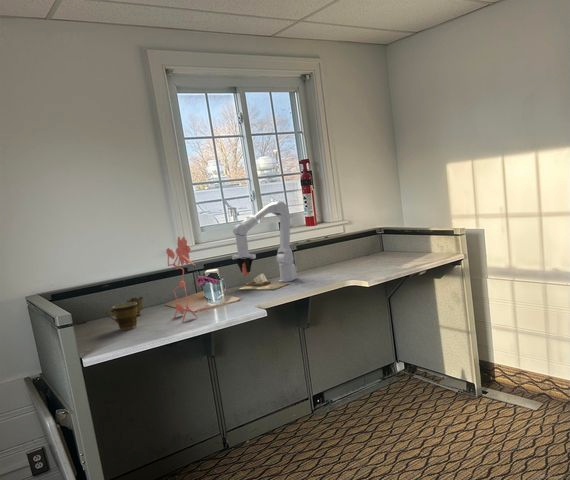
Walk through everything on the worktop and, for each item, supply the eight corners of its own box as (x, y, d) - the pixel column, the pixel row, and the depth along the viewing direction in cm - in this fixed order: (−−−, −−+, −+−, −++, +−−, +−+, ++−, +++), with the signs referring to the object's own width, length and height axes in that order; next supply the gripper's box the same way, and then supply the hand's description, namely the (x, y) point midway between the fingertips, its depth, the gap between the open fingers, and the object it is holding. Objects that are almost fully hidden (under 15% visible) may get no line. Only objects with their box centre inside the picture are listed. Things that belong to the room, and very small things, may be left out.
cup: (126, 317, 234) (123, 300, 233) (133, 313, 241) (130, 297, 241) (141, 316, 233) (138, 299, 232) (147, 312, 240) (145, 296, 239)
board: (254, 284, 282) (254, 280, 282) (289, 284, 269) (288, 280, 269) (239, 290, 271) (238, 286, 271) (274, 290, 258) (273, 286, 258)
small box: (209, 294, 269) (206, 269, 268) (221, 292, 269) (218, 268, 268) (207, 297, 261) (204, 272, 260) (219, 295, 261) (216, 270, 260)
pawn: (245, 274, 273) (244, 262, 272) (250, 274, 271) (249, 262, 270) (241, 275, 270) (240, 263, 269) (246, 275, 268) (245, 263, 267)
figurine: (189, 324, 206) (179, 238, 203) (164, 316, 227) (155, 238, 224) (222, 316, 215) (213, 233, 212) (195, 309, 236) (187, 234, 233)
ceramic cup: (137, 323, 219) (134, 300, 218) (142, 327, 210) (139, 304, 209) (106, 330, 213) (102, 307, 212) (110, 335, 204) (106, 310, 203)
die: (257, 277, 278) (263, 273, 276) (261, 284, 277) (267, 280, 275) (253, 278, 273) (259, 274, 271) (257, 286, 273) (263, 282, 271)
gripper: (227, 248, 270) (230, 273, 271) (248, 247, 262) (251, 273, 263) (235, 246, 276) (238, 271, 277) (256, 245, 267) (260, 270, 269)
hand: (245, 272), depth 270 cm, fingers closed on pawn, 3 cm apart
